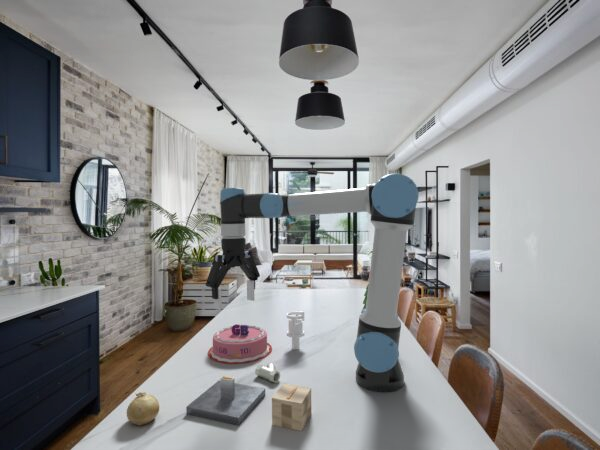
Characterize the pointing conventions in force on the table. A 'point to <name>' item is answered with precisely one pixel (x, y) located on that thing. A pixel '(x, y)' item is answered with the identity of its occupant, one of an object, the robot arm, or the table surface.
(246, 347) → the cake
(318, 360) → the table surface
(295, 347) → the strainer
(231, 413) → the grey piece
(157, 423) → the table surface
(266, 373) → the pipe fitting
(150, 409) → the onion
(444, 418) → the table surface
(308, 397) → the taped cardboard box
